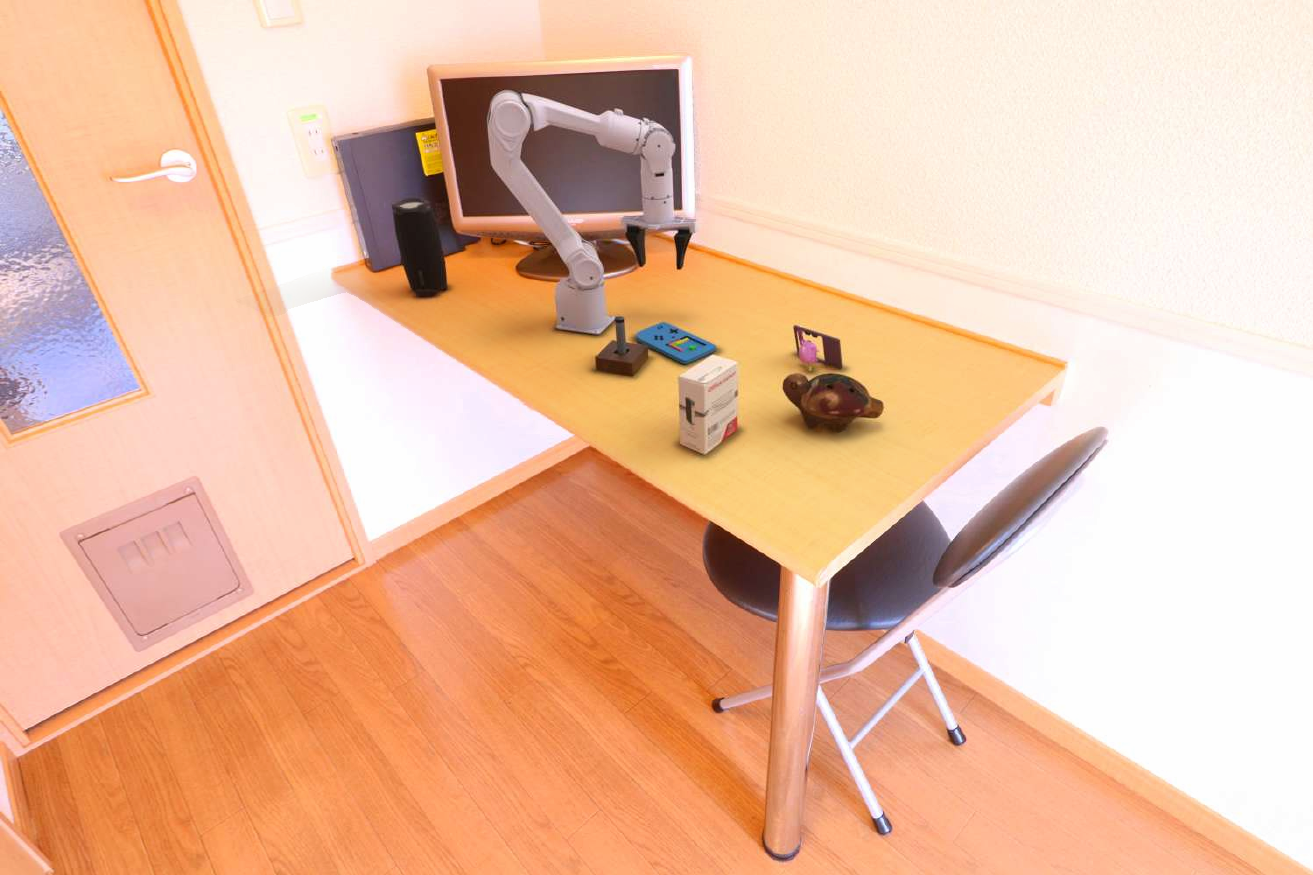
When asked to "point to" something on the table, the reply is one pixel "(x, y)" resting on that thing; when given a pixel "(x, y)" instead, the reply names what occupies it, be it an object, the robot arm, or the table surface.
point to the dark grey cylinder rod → (620, 335)
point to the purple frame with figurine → (810, 350)
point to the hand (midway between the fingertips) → (661, 266)
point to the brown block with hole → (622, 359)
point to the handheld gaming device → (675, 342)
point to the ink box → (708, 403)
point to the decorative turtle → (830, 399)
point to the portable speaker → (420, 246)
